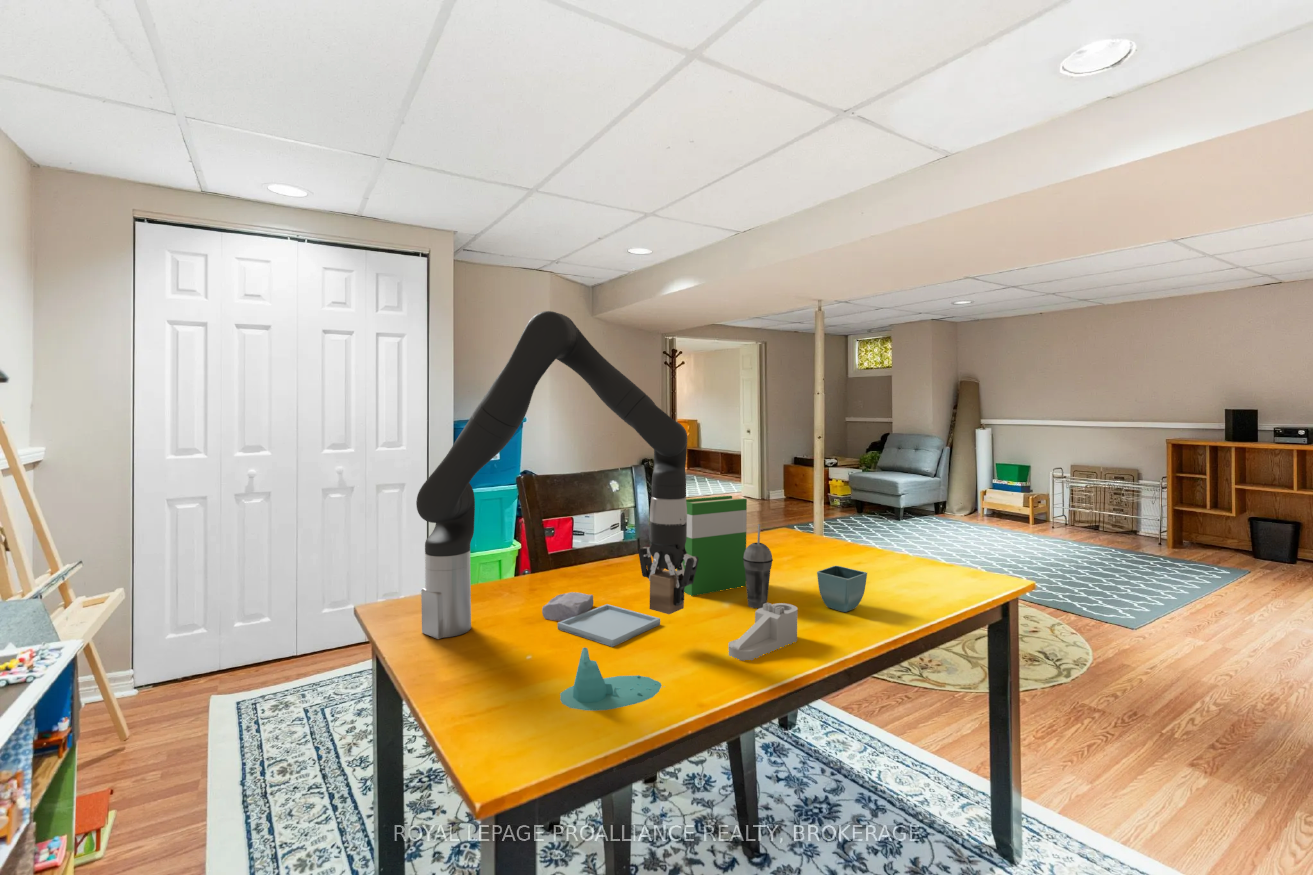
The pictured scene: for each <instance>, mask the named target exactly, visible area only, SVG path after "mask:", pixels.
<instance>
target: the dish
mask: <svg viewBox="0 0 1313 875" xmlns="http://www.w3.org/2000/svg"><path fill="white" fill-rule="evenodd" d="M660 625H661V618H660V617H656V616H652V615H649V614H645V613H641V612H637V611H634V610H631V609H626V608H622V607H619V606H615V605H611V604H608V603H606V604H604V605H601V606H600V605H599V606H598V607H596V608H593V609H590V610H589V611H587V612H585V613H582V614H579V615H577V616H574V617H571V618H569V619H566V620H563V621H558V622H557V630H559V631H563V632H566V633H569V634H571V635H574V636H577V637H581V638H584V639H587V640H590V641H592V642H593V641H594V642H596V643H600V644H603V645H606V646H608V647H611V648H613V647H616V646H618V645H620V644H621V643H624V642H626V641H628V640H630V639H632V638H635V637H636V636H638V635H641V634H643V633H645V632H647V631H650V630H652V629H654V628H655V627H658V626H660Z"/></svg>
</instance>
